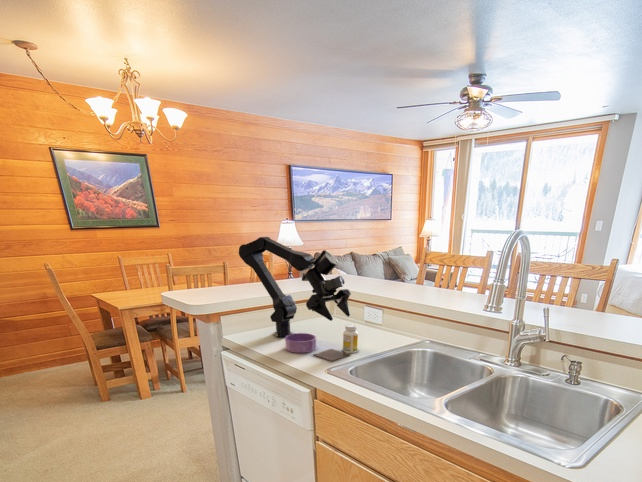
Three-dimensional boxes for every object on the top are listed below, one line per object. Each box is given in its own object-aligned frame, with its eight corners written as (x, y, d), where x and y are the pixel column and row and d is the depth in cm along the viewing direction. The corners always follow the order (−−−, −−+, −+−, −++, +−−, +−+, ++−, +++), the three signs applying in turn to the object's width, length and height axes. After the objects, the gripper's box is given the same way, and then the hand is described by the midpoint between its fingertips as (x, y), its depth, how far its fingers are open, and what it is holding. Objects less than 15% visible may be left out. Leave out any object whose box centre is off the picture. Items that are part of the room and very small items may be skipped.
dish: (283, 345, 155) (282, 334, 153) (312, 343, 159) (311, 332, 157) (288, 355, 145) (288, 342, 144) (319, 352, 149) (319, 340, 147)
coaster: (313, 355, 146) (313, 354, 146) (331, 349, 152) (331, 349, 152) (332, 361, 141) (331, 360, 140) (349, 355, 147) (349, 354, 147)
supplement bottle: (344, 353, 148) (344, 327, 144) (342, 349, 153) (342, 323, 149) (358, 353, 149) (359, 327, 145) (356, 348, 154) (356, 323, 150)
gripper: (310, 271, 139) (334, 308, 137) (347, 266, 152) (369, 301, 150) (296, 291, 147) (318, 327, 145) (332, 285, 160) (353, 318, 158)
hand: (340, 317), depth 149 cm, fingers open, 9 cm apart
